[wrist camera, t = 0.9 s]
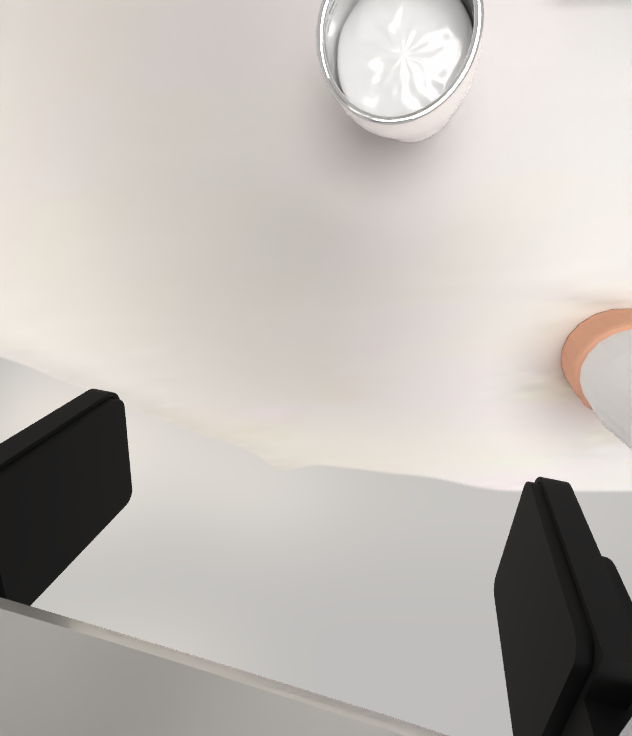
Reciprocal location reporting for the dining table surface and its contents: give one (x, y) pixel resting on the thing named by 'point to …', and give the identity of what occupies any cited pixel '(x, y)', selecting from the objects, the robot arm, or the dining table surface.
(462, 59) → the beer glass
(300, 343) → the dining table surface
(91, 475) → the robot arm
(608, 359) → the salt shaker
